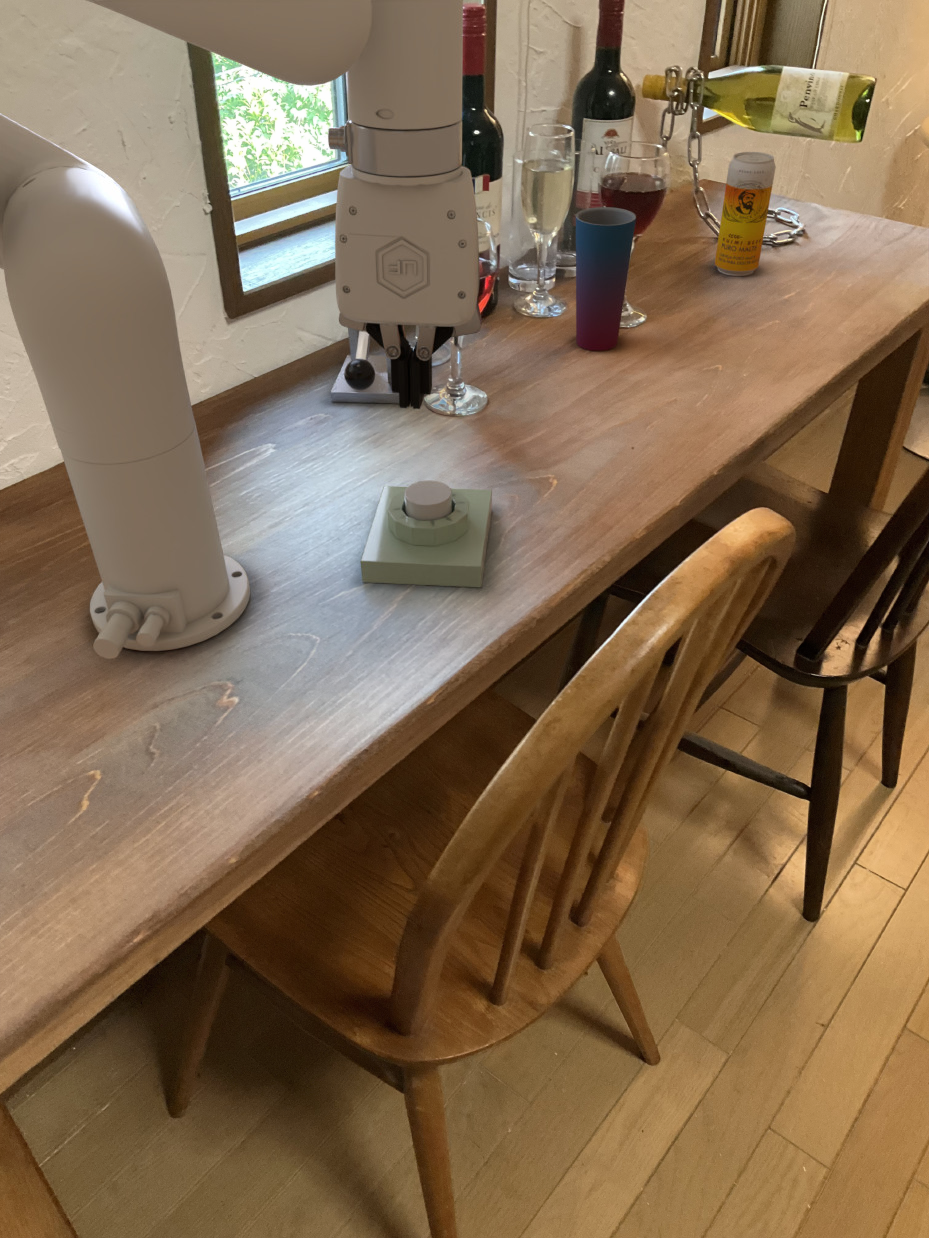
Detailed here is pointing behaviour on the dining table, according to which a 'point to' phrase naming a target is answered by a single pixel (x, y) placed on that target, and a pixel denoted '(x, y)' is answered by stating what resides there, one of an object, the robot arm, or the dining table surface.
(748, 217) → the beer can
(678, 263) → the dining table surface
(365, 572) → the block
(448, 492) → the beige push button
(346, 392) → the lever bracket
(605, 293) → the cup
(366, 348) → the flush lever
